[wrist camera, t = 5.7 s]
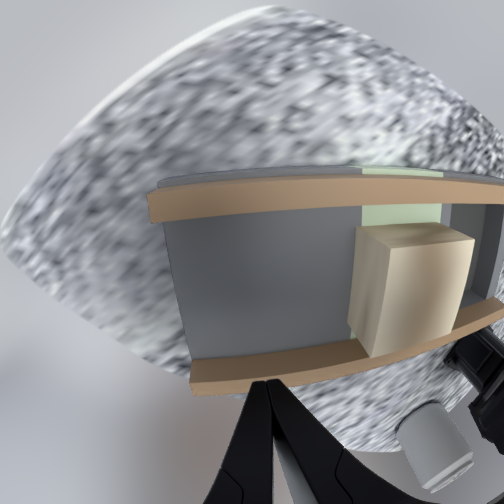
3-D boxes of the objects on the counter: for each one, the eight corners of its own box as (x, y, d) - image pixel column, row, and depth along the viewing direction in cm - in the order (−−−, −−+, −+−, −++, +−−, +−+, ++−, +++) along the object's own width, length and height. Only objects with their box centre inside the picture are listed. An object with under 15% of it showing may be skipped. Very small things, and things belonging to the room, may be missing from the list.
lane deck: (494, 176, 16) (530, 186, 12) (473, 298, 20) (502, 320, 16) (168, 177, 14) (145, 186, 10) (198, 352, 19) (194, 399, 14)
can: (422, 397, 25) (466, 466, 14) (446, 399, 27) (485, 455, 15) (383, 435, 27) (415, 502, 16) (412, 433, 28) (442, 489, 17)
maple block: (436, 221, 14) (475, 239, 11) (421, 306, 16) (450, 333, 13) (355, 226, 14) (390, 248, 10) (347, 322, 16) (370, 358, 12)
